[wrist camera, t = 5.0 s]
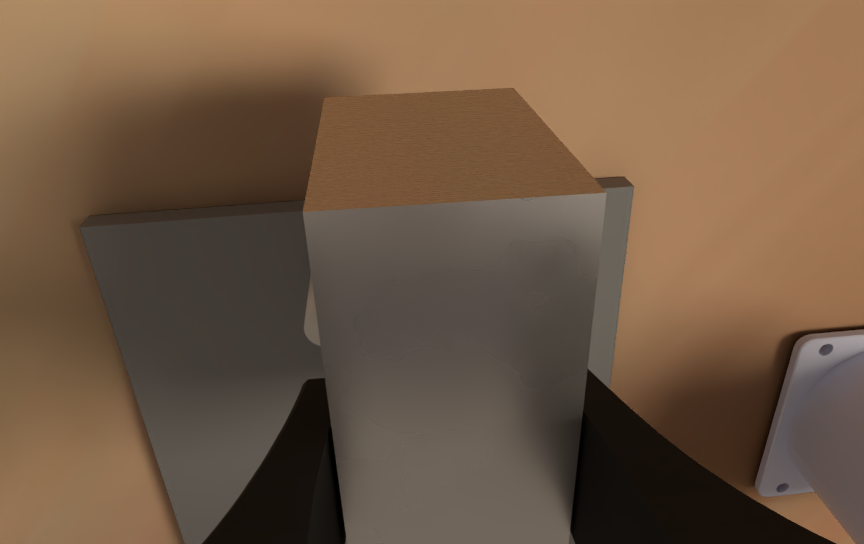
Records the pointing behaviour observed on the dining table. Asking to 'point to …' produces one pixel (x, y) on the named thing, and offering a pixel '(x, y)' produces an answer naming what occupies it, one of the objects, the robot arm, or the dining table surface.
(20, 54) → the dining table surface
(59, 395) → the dining table surface
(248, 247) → the dock
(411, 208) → the block
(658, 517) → the robot arm
